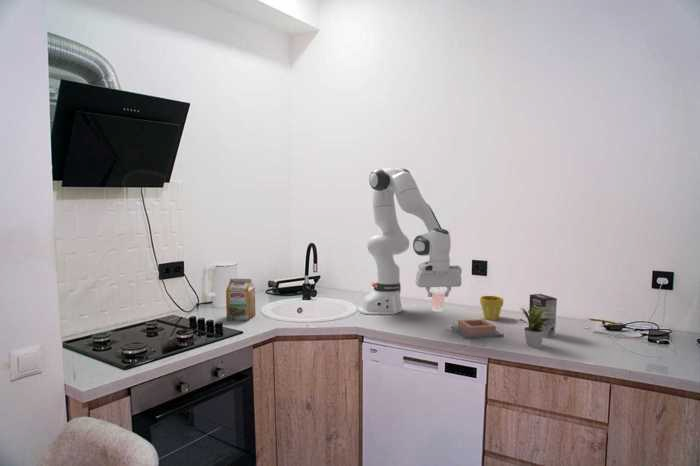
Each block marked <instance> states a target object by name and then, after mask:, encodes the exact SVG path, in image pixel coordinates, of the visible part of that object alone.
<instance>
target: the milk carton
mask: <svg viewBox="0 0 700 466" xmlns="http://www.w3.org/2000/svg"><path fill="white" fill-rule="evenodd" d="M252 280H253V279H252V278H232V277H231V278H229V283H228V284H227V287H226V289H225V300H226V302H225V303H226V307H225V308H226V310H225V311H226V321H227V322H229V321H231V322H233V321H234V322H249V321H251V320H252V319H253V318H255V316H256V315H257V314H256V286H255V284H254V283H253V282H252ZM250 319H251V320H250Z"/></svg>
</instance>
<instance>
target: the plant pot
mask: <svg viewBox="0 0 700 466" xmlns="http://www.w3.org/2000/svg"><path fill="white" fill-rule="evenodd" d="M479 300H480V302H479V304H480V305H481V308H482V314H483V319H484V320H490V321H496V320H499V318H500V314H501V310H502V308H503V307H504V298H502V297H500V296H497V295H482V296H480V297H479Z"/></svg>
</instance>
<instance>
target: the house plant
mask: <svg viewBox="0 0 700 466" xmlns="http://www.w3.org/2000/svg"><path fill="white" fill-rule="evenodd" d="M535 306H536V304H535ZM535 306H534V309H533V308H532V307H531V308H532V313H531V312H530V311H529V308H528V307H526V306H525V308H526V309H527V310H528V311H527V310H526V309H525V308H524V306H521V307H520V308H519V310H521V312H522V313H523V314H524V315H525V317H526V318H527V321H525V320H524V319H523V318H522V319H521V318H519V319H518V320H517V321H518V322H523V323H524V324H527V326H526V327H524V329H523V330H524V335H525V336H524V337H525V344H527V345H528V347H530V346H531V348H541V345H542V343H543V342H542V341H543V338H544V337H543V333H544V330H543V329H541V328H540V327H541V326H542V325H544V326H547V325H546V324H549V323H546V324H544V323H543V322H545V321H547V320H552V319H548V318H540V316H541V314H542V313H543V311H544V309H545V308H546V307H544V308H543V307H542V308H541V309H540V310H538V312H539V313H538V312H537V313H538V314H537V313H536V315H537V316H536V315H535ZM549 312H551V311H549ZM547 313H548V312H547ZM529 314H530V316H529ZM545 314H546V313H545ZM545 314H544V315H545ZM544 315H542V316H544ZM535 317H536V318H535ZM539 318H540V319H539ZM541 319H542V320H541ZM538 320H540V321H539V322H538ZM537 322H538V323H537ZM542 323H543V324H542ZM529 325H530V327H529ZM549 325H550V324H549ZM550 326H551V325H550ZM527 345H526V346H527Z"/></svg>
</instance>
